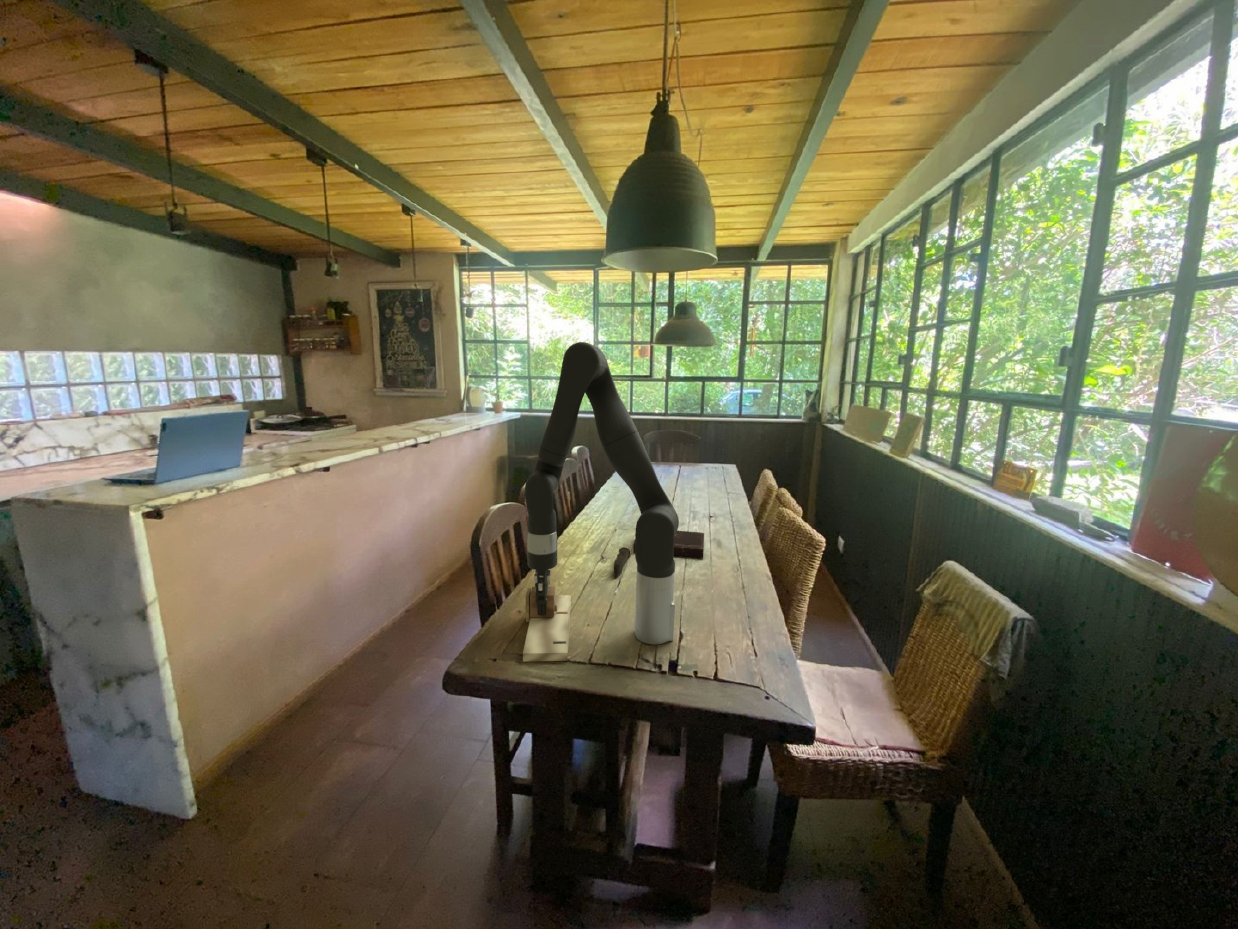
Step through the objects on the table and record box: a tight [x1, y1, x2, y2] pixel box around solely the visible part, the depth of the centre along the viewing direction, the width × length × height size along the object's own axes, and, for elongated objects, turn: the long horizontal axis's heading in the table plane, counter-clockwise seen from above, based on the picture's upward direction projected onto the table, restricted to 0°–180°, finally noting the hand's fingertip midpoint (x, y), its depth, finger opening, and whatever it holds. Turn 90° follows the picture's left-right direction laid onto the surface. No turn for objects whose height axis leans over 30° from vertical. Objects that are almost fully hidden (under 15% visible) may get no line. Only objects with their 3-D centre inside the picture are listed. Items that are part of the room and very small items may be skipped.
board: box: [522, 594, 572, 663], centre depth 121 cm, size 10×28×2 cm, turn 4°
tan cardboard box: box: [525, 586, 557, 623], centre depth 124 cm, size 8×5×7 cm, turn 94°
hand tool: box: [613, 546, 631, 579], centre depth 160 cm, size 19×4×5 cm, turn 168°
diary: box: [632, 530, 705, 560], centre depth 179 cm, size 19×25×5 cm
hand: (542, 609), depth 125 cm, fingers closed on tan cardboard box, 5 cm apart
